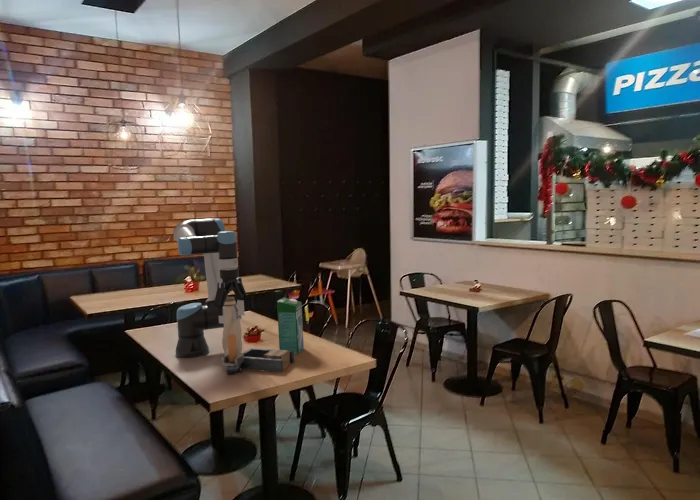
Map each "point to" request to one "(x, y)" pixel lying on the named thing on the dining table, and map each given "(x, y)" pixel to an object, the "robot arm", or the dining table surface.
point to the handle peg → (232, 347)
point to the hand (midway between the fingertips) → (232, 319)
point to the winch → (233, 364)
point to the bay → (263, 360)
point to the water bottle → (232, 325)
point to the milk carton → (290, 325)
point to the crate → (279, 356)
